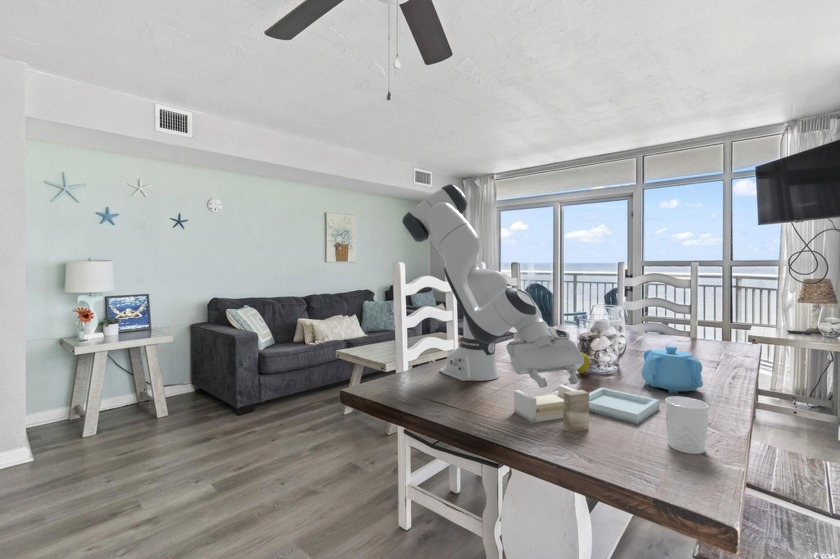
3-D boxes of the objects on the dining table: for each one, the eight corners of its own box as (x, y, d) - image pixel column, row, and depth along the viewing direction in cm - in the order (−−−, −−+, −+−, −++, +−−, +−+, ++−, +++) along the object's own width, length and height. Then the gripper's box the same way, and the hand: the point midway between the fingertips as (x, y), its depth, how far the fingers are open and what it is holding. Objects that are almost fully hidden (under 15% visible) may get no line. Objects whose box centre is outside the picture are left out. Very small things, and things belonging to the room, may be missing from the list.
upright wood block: (563, 428, 98) (563, 392, 98) (581, 425, 100) (581, 389, 99) (570, 432, 96) (570, 395, 95) (588, 429, 97) (589, 392, 97)
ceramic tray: (576, 407, 112) (576, 399, 112) (601, 395, 123) (601, 387, 123) (637, 424, 100) (637, 414, 100) (659, 408, 111) (659, 399, 111)
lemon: (591, 376, 145) (591, 354, 145) (574, 375, 146) (575, 353, 146) (587, 372, 150) (587, 350, 150) (572, 371, 151) (572, 350, 151)
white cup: (663, 449, 86) (664, 403, 86) (665, 436, 93) (666, 394, 93) (708, 459, 82) (709, 411, 82) (707, 445, 89) (707, 400, 88)
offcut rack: (514, 412, 109) (514, 390, 109) (562, 405, 114) (562, 384, 114) (531, 422, 102) (531, 399, 101) (582, 414, 107) (582, 392, 107)
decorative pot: (699, 385, 133) (699, 344, 133) (704, 399, 119) (704, 353, 119) (642, 379, 141) (643, 340, 141) (641, 391, 127) (642, 348, 127)
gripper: (508, 335, 106) (529, 382, 96) (572, 331, 112) (598, 375, 103) (499, 348, 110) (519, 394, 101) (562, 344, 116) (585, 387, 107)
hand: (559, 384), depth 102 cm, fingers open, 8 cm apart
